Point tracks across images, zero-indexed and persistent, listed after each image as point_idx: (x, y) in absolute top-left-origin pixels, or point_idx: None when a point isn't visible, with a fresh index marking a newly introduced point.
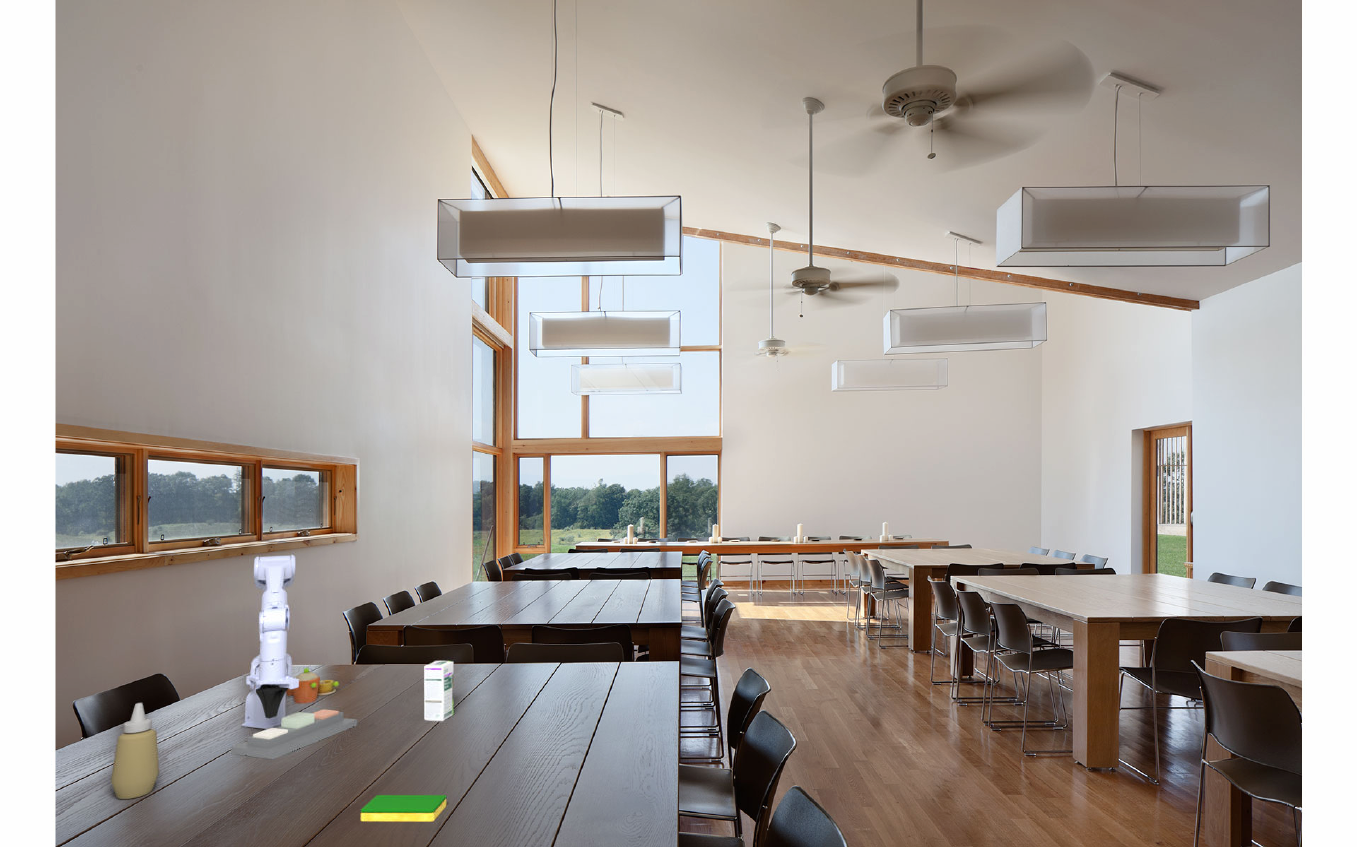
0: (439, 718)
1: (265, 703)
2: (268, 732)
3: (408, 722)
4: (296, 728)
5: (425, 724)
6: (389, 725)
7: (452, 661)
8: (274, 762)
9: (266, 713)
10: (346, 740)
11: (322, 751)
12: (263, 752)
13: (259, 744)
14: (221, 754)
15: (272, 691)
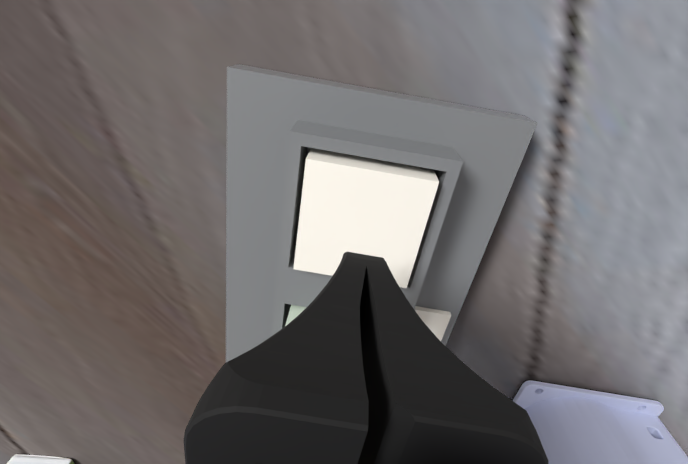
0: (18, 461)
1: (377, 317)
2: (368, 221)
3: (100, 444)
4: (295, 308)
5: (35, 433)
6: (130, 424)
7: None
8: (192, 19)
9: (369, 267)
10: (135, 307)
11: (109, 193)
12: (300, 79)
13: (366, 136)
14: (570, 94)
15: (200, 400)
